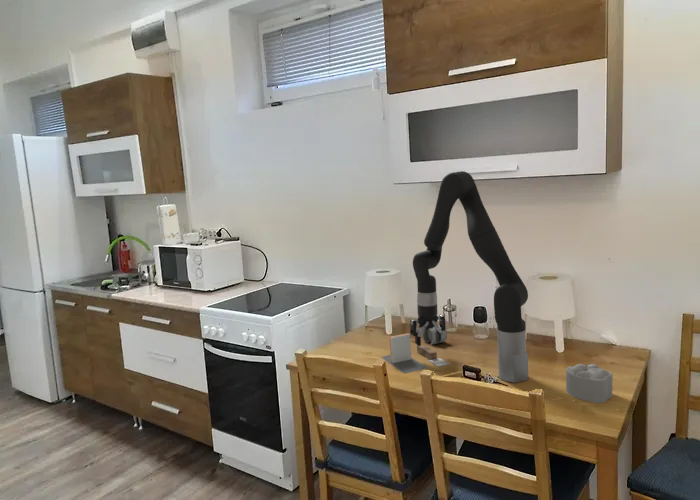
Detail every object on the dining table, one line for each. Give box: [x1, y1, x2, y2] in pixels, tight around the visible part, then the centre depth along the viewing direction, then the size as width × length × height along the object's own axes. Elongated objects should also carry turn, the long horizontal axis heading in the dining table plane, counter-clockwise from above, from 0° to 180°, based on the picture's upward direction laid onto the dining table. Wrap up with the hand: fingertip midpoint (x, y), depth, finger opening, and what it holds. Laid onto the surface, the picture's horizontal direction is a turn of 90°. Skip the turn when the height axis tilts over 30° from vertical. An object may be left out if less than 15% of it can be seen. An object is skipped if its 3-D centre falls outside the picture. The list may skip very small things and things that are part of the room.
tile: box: [389, 332, 412, 363], centre depth 203 cm, size 2×8×10 cm, turn 112°
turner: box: [416, 344, 451, 368], centre depth 204 cm, size 18×5×4 cm, turn 22°
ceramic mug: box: [422, 324, 448, 346], centre depth 224 cm, size 11×8×8 cm
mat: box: [380, 354, 429, 374], centre depth 202 cm, size 20×10×1 cm, turn 22°
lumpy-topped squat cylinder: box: [565, 363, 613, 404], centre depth 165 cm, size 10×13×9 cm
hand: (428, 343), depth 204 cm, fingers open, 8 cm apart
